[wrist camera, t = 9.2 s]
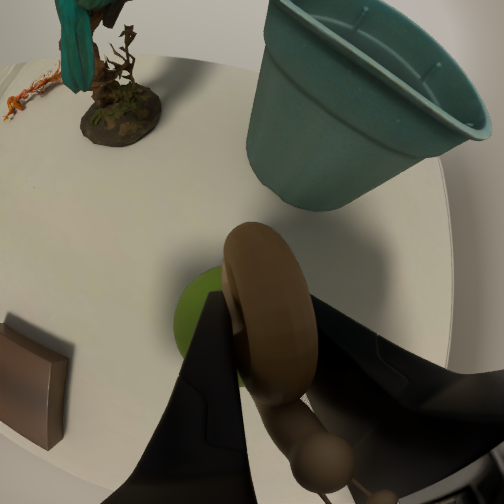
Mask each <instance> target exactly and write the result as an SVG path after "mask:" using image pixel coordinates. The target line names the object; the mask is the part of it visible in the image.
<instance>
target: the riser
mask: <svg viewBox="0 0 504 504" xmlns="http://www.w3.org/2000/svg"><path fill="white" fill-rule="evenodd" d="M68 361H69V359H68V358H66V357H64V356H62V355H60V354H58V353H56V352H54V351H52V350H50V349H48V348H46V347H44V346H42V345H40V344H38V343H36V342H34V341H32V340H31V339H29V338H27V337H25V336H24V335H22V334H20V333H18V332H17V331H15V330H13V329H12V328H10V327H8V326H7V325H5V324H4V323H0V421H2V422H3V423H4V424H6V425H7V426H9V427H10V428H12V429H13V430H14V431H16V432H17V433H19V434H20V435H22V436H23V437H25V438H27V439H28V440H30V441H31V442H33V443H35V444H36V445H38V446H40V447H42V448H43V449H45V450H47V451H49V450H50V449H51V448H53V447H54V446H55V445H56V444H57V443H59V442H60V441H61V440H62V427H63V406H64V394H65V384H66V375H67V367H68Z"/></svg>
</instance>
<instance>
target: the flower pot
mask: <svg viewBox="0 0 504 504" xmlns="http://www.w3.org/2000/svg"><path fill="white" fill-rule="evenodd" d="M264 40H265V44H266V46H265V50H264V55H263V60H262V64H261V69H260V74H259V79H258V84H257V88H256V93H255V98H254V103H253V108H252V113H251V118H250V123H249V129H248V134H247V140H246V150H247V156H248V159H249V162H250V165H251V167H252V169H253V171H254V173H255V174H256V176H257V177H258V179H259V180H260V181H261V182H262V184H264V185H266V186H268V187H269V188H271V189H272V190H273V191H274V192H275V193H277V194H278V195H279V196H280V197H281V199H282V200H283V201H285V202H287V203H289V204H291V205H293V206H296V207H298V208H302V209H306V210H310V211H331V210H335V209H338V208H341V207H343V206H344V205H346V204H348V203H350V202H352V201H353V200H355V199H357V198H358V197H360V196H362V195H363V194H365V193H367V192H369V191H370V190H372V189H374V188H376V187H377V186H379V185H381V184H383V183H384V182H386V181H388V180H389V179H391V178H393V177H394V176H396V175H398V174H400V173H401V172H403V171H405V170H406V169H408V168H410V167H412V166H413V165H415V164H417V163H418V162H420V161H422V160H424V159H425V158H431V157H436V156H440V155H442V154H444V153H445V152H447V151H449V150H451V149H452V148H454V147H456V146H458V145H460V144H461V143H463V142H465V141H467V140H469V139H470V140H474V141H482V140H486V139H488V138H489V137H490V136H491V133H492V123H491V119H490V116H489V113H488V111H487V109H486V106H485V104H484V102H483V100H482V98H481V97H480V95H479V93H478V91H477V90H476V88H475V86H474V85H473V83H472V82H471V80H470V79H469V78H468V76H467V75H466V73H465V72H464V71H463V69H462V68H461V67H460V66H459V64H458V63H457V62H456V61H455V60H454V59H453V57H452V56H451V55H450V54H449V53H448V52H447V51H446V50H445V49H444V48H443V47H442V46H441V45H440V44H439V43H438V42H437V41H436V40H435V39H434V38H433V37H432V36H430V35H429V34H428V33H427V32H426V31H425V30H423V29H422V28H421V27H420V26H419V25H417V24H416V23H415V22H413V21H412V20H411V19H409V18H408V17H406V16H405V15H404V14H402V13H401V12H399V11H398V10H396V9H395V8H393V7H391V6H390V5H388V4H387V3H385V2H383V1H381V0H269V6H268V11H267V16H266V22H265V27H264Z"/></svg>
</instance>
